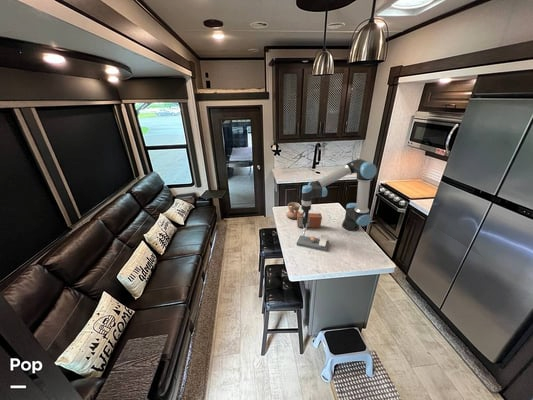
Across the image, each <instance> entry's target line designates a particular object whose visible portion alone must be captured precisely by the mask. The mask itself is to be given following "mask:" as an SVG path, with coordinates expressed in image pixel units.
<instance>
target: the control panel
mask: <svg viewBox="0 0 533 400" xmlns="http://www.w3.org/2000/svg"><path fill="white" fill-rule="evenodd" d="M302 215H303V212H300V213H298V216H297V219H296V221H297V222H296V225H297V228H303V224H302V223H303V217H302ZM322 216H323V215H322V213H320V212H318V213H317V212H316V213H315V212H314V213H312V212H310V213H308V221H307V222H308V223H307V228H321V226H322V219H323V217H322Z"/></svg>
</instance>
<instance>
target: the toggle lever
mask: <svg viewBox="0 0 533 400" xmlns="http://www.w3.org/2000/svg"><path fill="white" fill-rule="evenodd" d="M302 232H303V233H302V236H303V239H304V236H306V235H305V233H306V232H307V230H306V229H303V228H302Z"/></svg>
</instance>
